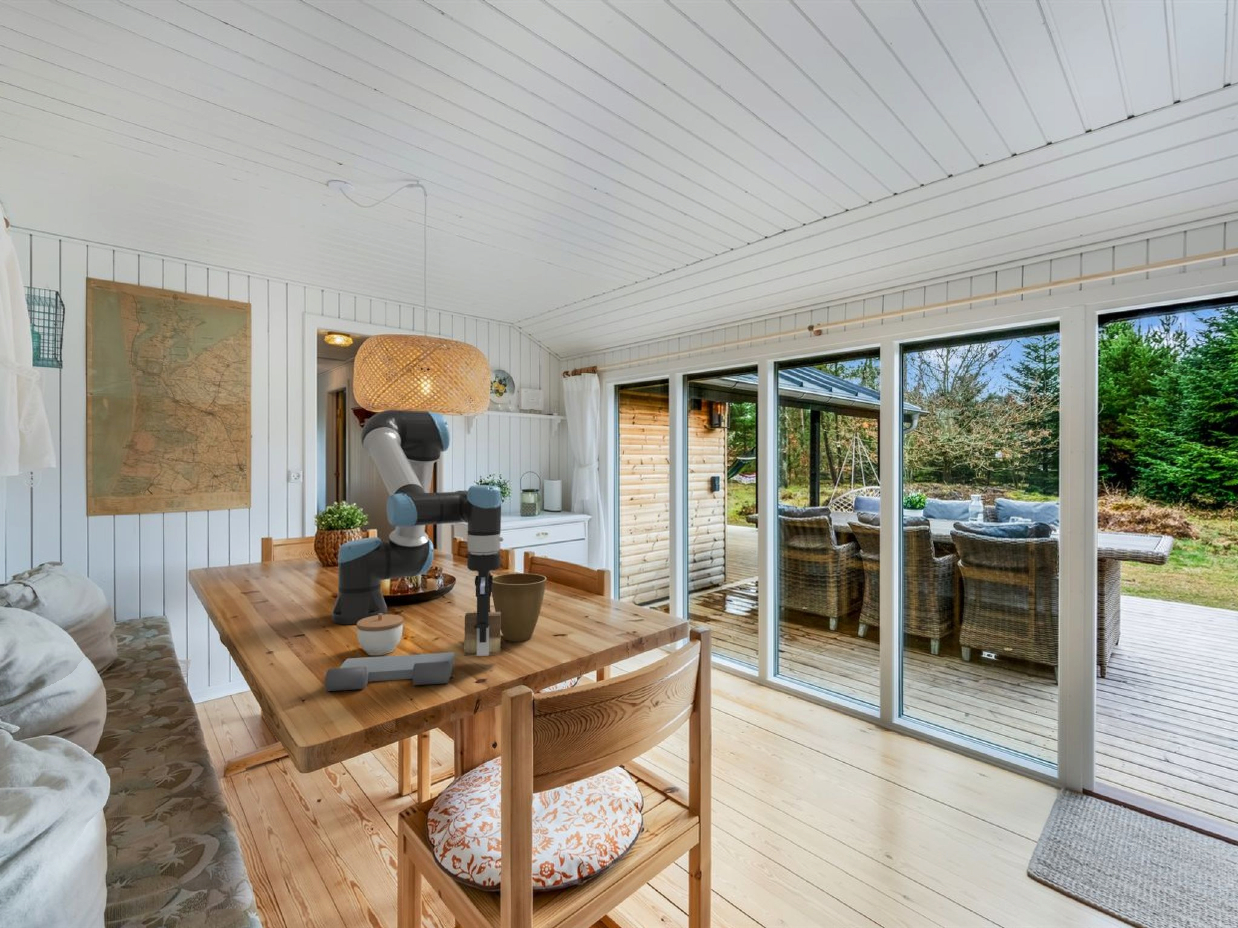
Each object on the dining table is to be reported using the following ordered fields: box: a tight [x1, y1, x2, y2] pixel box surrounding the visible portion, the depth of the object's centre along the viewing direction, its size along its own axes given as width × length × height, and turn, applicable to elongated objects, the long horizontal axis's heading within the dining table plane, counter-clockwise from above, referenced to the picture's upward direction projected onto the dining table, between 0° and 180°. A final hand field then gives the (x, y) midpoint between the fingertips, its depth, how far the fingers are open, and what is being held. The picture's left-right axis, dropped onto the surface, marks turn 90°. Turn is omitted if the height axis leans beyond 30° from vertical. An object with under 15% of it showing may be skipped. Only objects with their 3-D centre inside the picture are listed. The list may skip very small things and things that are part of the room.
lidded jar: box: [356, 613, 404, 656], centre depth 139 cm, size 11×11×9 cm
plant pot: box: [491, 572, 547, 642], centre depth 150 cm, size 15×15×16 cm
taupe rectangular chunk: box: [463, 611, 501, 657], centre depth 130 cm, size 4×8×9 cm, turn 100°
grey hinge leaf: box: [324, 651, 456, 692], centre depth 123 cm, size 15×24×4 cm, turn 101°
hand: (483, 650), depth 130 cm, fingers closed on taupe rectangular chunk, 4 cm apart
